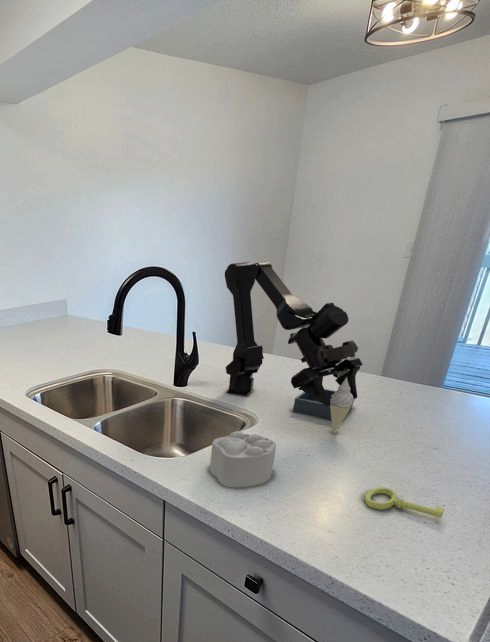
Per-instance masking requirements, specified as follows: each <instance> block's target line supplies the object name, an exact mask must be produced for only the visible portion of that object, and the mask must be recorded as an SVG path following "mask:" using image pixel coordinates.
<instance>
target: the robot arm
mask: <svg viewBox="0 0 490 642" xmlns="http://www.w3.org/2000/svg"><path fill="white" fill-rule="evenodd" d="M224 279H225V284H226V288H227V290H228V291H229V292H230V294H231V295H232V298H233V310H234V311H233V312H234V319H235V320H234V321H235V333H236V345H235V347H234V350H233V352H232V361H231V362H229V363H228V364H227V365H226V366H225V373H226V374H227V375H229V384H228V389H227V390H226V393H227V394H232V395H239V396H248V395H250V393H251V392H252V391H253V390H254V382H255V378H254V377H253V376H254V374H257V373H258V372H259V369H260V367H261V366H262V365H263V359H265V357H264V353H263V351H264V350H263V349H264V348H263V345H259V344H258V343H257V342H256V340H255V331H254V317H253V307H252V294H251V291H252V290H253V287H254V286H255V284H256V282H257V284H258V285H259V286H260V288H261V289H262V290H263V292H264V294H266V296H267V297H268V299H269V300H270V301H271V303H272V304H273V305H274V307H275V309H276V318H277V320H278V322H279V324H280V326H281V328H283V329H284V330H285V331H293V330H297V329H299V330H298V331H296V332H291V333H290V335H289V338H288V340H287V344H288V345H292V344H296V345H297V347H298V350H299V351H300V353H301V355H302V358H301V359H300V361H301V363H306V364H307V366H308V367H305V368H302V369H301V370H300V371H298V372H296V374H294V375H292V376H291V379H290V383H291V386H292V388H293V389H298V391H302V392H306V393H307V394H309V395H311V396H312V397H314V398H315V399H316V400H318V401H319V402H321V403H322V404H324V405H325V406H330V405H331V403H330V400H329V398H328V396H327V394H326V391H325V389H326V388H325V387H324V385H323V382H324V381H323V380H324V377H327V376H331V375H332V376H333V377H334V378H336V379H334V381H335V382H336V383H337V384H338V385H339V386H340V385H341V384H342V383H343V382H344V380H345V379H346V377H347V380H348V384H349V387H350V393H351V394H352V395H353V399H354V400H356V399H357V398H358V391H357V381H356V376H357V373H358V372H359V371H360V370H361V367H363V365H364V364H363V362H362V361H361V359H360V358H359V357H356V353H358V350H359V346H358V345H357V344H356V342H355V341H354V340H353V339H352V340H348V341H344V342H342V345H341V346H336V347H333V345H332V344H326V343H325V341H324V339H329V338H330V337H332V336H333V335H334V334H336V333H337V332H338V331H339V330H341V329H342V328H344V327H345V326H346V325H347V324H348V322H349V316H348V314H347V312H346V311H344V309H342V308H341V307H339V306H336V305H335V303H334V302H326V303H325V304H324V305H322V307H321V308H320V309H319V310H318V311H315V310H313V308H312V306H310V305H309V304H308V303H306V302H305V301H304V300H303V299H300V298H298V297H296V296H295V295H294V294H293V293H292V292H291V291H290V290H289V288H288V286H287V285H286V284H285V283H284V282H283V280H282V279H281V278H280V276H279V275H278V274H277V272H276V271H275V270H274V269H273V265H272V264H271V262H268V261H261V262H260V261H259V262H255V263H252V262H251V261H245V262H244V261H243V262H235V263H230V264H228V265H227V267H226V268H225V270H224Z"/></svg>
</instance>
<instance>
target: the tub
mask: <svg viewBox="0 0 490 642" xmlns="http://www.w3.org/2000/svg"><path fill="white" fill-rule="evenodd" d="M324 389H325V391H326V394H327V396H328V398H329V400H330V399H332V397H331V395H333V394H335V393H334V392H336V391H337V390H332V389H327V388H324ZM293 402H294V403H293V408H292V412H295V413H299V414H303V415H308V416H312V417H317V418H321V419H325V420H329V421H332V419H331V409H330V406H325V405H324V404H322V403H321V402H319V401H318V400H316V399H315V398H314V397H312V396H311V395H309V394H307V393H306V392H304V391H302V392H301V393H299V395H297V396H296V397H295V398H294V401H293ZM354 402H355V399H353V403H352V407H351V408H350V409H349V411H351V409H352V408H353V407H354Z"/></svg>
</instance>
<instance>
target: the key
mask: <svg viewBox="0 0 490 642" xmlns="http://www.w3.org/2000/svg"><path fill="white" fill-rule="evenodd" d="M378 494H384V495H387V496H389V497H391V498H390V499H389V500H386V501H384V502H377V501H374V500H372V497H373V496H375V495H378ZM397 496H398V495H397V492H396V491H395V490H393V489H391V488H388V487H376V488H372V489H371V490H369V491H367V492H366V493H365V495H364V501H365V504H366V505H367V506H368V507H369V508H372V509H376V510H387V509H390V508H392V507H393V506H396V507H397V509H401V508H403V509H408V510H412V511H415V512H419V513H423V514H425V515H426V514H427V515H429V516H433V517H436V518H440V519H441V518H442V517H443V514H444V511H445V508H444V507H442V508H441V507H439V506H436V507H435V508H432V507H428V506H424V505H420V504H416V503H413V502H409V501H405V500H404V499H403V498H401V497H400V498H399V499H398V497H397Z"/></svg>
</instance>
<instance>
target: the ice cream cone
mask: <svg viewBox="0 0 490 642" xmlns="http://www.w3.org/2000/svg"><path fill="white" fill-rule="evenodd" d="M335 391H336V392H334V393H335V394H333V395H331V397H332V399H330V403H331V405H330V409H331V419H332V420H331V427H332V433H333V434H336V432H337V431H338V429H339V427H340V426H341V424H342V423H343V421H344V420H345V418H346V416H347V415H348V413H349V412H350V410H351V409H352V408H353V406H352V403H353V404H354V402H353V395H352V394H351V393H350V387H349V384H348V380H347V377H346V379H345V380H344V382H343V383H342V384H341V385H339V386H338V387H337V390H335ZM351 407H352V408H351ZM350 408H351V409H350ZM349 409H350V410H349Z"/></svg>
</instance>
